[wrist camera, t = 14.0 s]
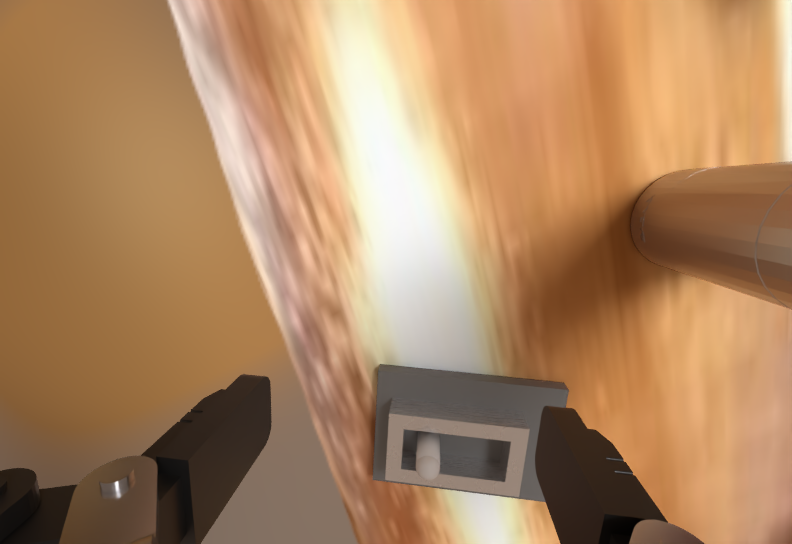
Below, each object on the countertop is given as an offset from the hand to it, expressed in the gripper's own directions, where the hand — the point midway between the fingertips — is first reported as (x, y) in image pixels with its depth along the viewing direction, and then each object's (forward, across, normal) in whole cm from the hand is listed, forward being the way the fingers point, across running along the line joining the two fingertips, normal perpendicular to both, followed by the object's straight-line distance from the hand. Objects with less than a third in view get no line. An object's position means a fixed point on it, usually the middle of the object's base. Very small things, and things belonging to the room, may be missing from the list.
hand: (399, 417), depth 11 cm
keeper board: (+28, -6, +20) cm, 35 cm away
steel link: (+27, -5, +20) cm, 34 cm away
